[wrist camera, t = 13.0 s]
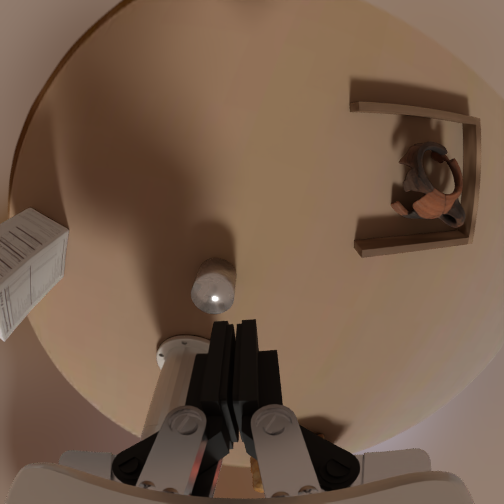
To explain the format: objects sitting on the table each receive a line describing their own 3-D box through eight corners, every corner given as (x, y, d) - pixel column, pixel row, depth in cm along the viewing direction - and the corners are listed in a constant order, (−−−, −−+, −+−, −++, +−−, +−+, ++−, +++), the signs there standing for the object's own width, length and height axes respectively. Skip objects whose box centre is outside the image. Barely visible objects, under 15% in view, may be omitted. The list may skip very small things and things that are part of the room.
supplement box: (30, 205, 31) (-47, 250, 16) (70, 228, 33) (-8, 287, 18) (26, 255, 35) (-36, 308, 20) (64, 278, 37) (4, 344, 21)
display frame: (461, 235, 33) (472, 243, 30) (353, 247, 34) (361, 257, 31) (466, 117, 25) (480, 118, 23) (349, 103, 27) (358, 101, 24)
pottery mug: (368, 198, 32) (401, 175, 24) (393, 147, 33) (423, 119, 24) (434, 250, 31) (474, 243, 23) (452, 198, 32) (487, 182, 24)
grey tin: (239, 289, 37) (236, 312, 32) (202, 292, 37) (196, 315, 32) (233, 256, 35) (230, 275, 30) (194, 260, 35) (186, 280, 30)
